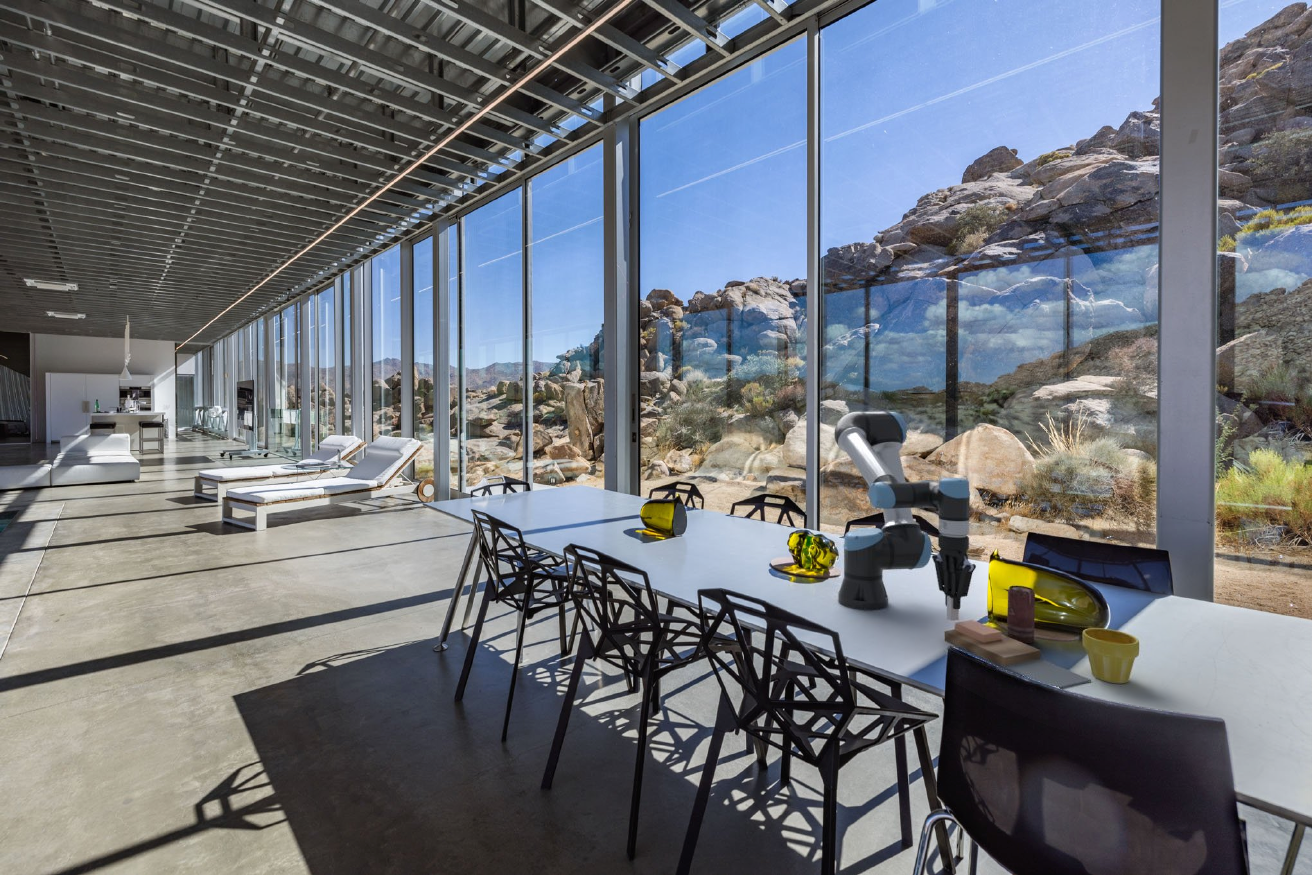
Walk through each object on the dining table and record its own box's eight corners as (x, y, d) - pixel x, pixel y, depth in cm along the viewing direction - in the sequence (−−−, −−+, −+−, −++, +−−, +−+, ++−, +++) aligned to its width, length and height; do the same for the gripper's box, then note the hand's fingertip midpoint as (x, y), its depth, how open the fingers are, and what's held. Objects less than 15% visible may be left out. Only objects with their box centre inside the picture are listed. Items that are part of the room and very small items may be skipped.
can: (1022, 645, 153) (1023, 592, 153) (1001, 636, 160) (1002, 585, 159) (1040, 643, 155) (1041, 590, 154) (1019, 634, 161) (1020, 583, 160)
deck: (944, 640, 158) (944, 630, 157) (978, 634, 162) (978, 625, 161) (1004, 667, 141) (1004, 657, 141) (1040, 660, 145) (1041, 650, 144)
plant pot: (1070, 668, 140) (1071, 627, 140) (1111, 666, 141) (1112, 626, 140) (1106, 688, 130) (1107, 645, 129) (1150, 686, 130) (1152, 643, 130)
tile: (954, 630, 158) (954, 622, 158) (972, 627, 160) (972, 619, 160) (983, 642, 150) (983, 634, 149) (1001, 639, 151) (1001, 631, 151)
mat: (1004, 667, 141) (1004, 666, 141) (1040, 660, 145) (1040, 658, 145) (1052, 690, 129) (1052, 688, 129) (1091, 681, 133) (1091, 679, 133)
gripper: (924, 531, 166) (923, 613, 167) (962, 540, 154) (961, 629, 155) (945, 529, 169) (944, 610, 170) (984, 538, 156) (983, 625, 157)
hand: (952, 619), depth 162 cm, fingers closed
